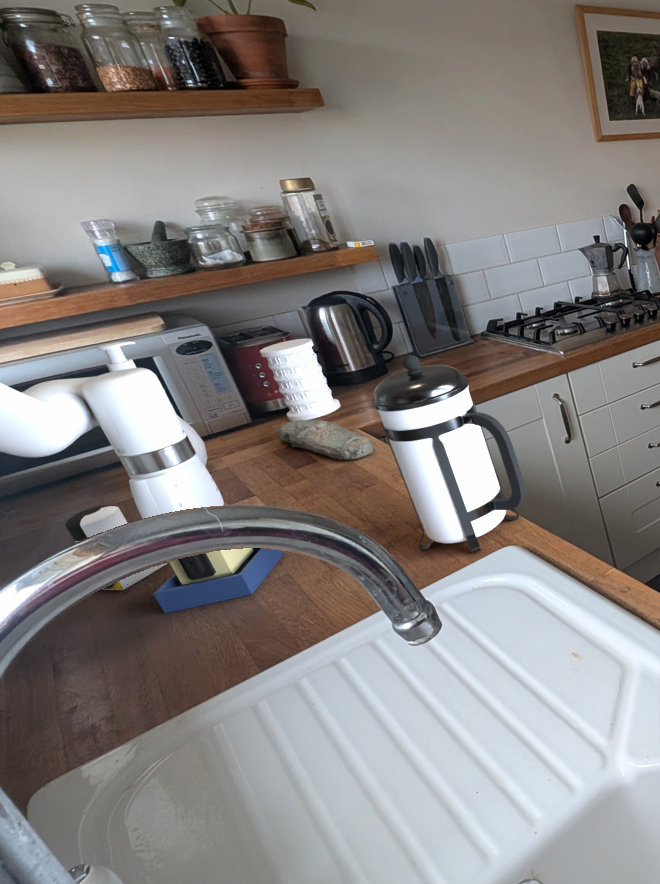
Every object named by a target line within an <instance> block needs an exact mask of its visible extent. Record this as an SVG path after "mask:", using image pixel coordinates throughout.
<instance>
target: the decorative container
mask: <svg viewBox="0 0 660 884" xmlns="http://www.w3.org/2000/svg"><path fill="white" fill-rule="evenodd" d="M314 345H315V344H314V342H313V339H312V338H307V337H306V338H296V339H291V340H286V341H281V342H277V343H274V344H271V345H268V346H265V347H262V348H261V349H260V350H259V353H260V356H261V357H262V358H266V360H267V362H268V364H267V366H268V368H269V370H271V371H272V373H273V380H274V381H275V382H276V383H277V384H278V391H279V393H280V394H281V395H282V396H283V398H284V399H283V400H284V401H283V402H284V404H285V405H286V407H287V408H288V409H289V411H288V412H287V413H286V417H287V420H289V422H292V421H297V420H314V419H316V418H321V417H323V416H327V415H329V414H331V413H333V412H335V411H337V410H338V409H340V408H341V406H342V405H341V403H340V400H339V399H337V398H333V396H332V394H333V393H332V389H331V388H330V387H329V386H328V381H327V377H326V376H325V375H324V374H323V367H322V365H321V364H320V363H319V362H318V355H317V353H315V352H314V350H313V348H312V347H314Z"/></svg>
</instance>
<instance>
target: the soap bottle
mask: <svg viewBox="0 0 660 884" xmlns="http://www.w3.org/2000/svg"><path fill="white" fill-rule="evenodd" d="M127 345H136V341H131V340H127V341H126V340H125V341H116V342H111V343H106V344H102V345H99V346H98V347H97V349H98V351H104V353H105V354H106V356H107V358H108V361H110V362H109V363H106V367H107V369H108V370H109V373H110V372H114V371H118V370H123V369H130V368H137V366H136V364H135V362H134V360H133V359H132V358H127V357H126V356H125V354H124V352H123V350H122V348H121V347H123V346H127ZM164 391H165V392H166V390H165V389H164ZM177 416H178V418H179V420H180V422H181V424H182V426H183V428H184V430H185V432H186V434H187V436H188V438H189V440H190V442H191V444H192V445H193V447H194V449H195V451H196V453H197V455H198V458H199V459H200V460H201V462H202V463H203V465H204V466H205V467H206V466H207V463H208V462H207V461H208V454H207V450H206V444H205V441H204V440H203V439H202V438H201V436H200V435H199V434H198V433H197V432H196V430H195V429H194V427H192V426H191V425H190V424H189V423H187V422H186V421H185V420H184V419H183V418H181V417H180V416H179V415H178V414H177Z"/></svg>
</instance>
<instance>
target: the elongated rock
mask: <svg viewBox="0 0 660 884" xmlns="http://www.w3.org/2000/svg"><path fill="white" fill-rule="evenodd" d="M274 432H275V436H277V438H278V439H280V440H282V441H283V442H285V443H287V444H290V446H291V448H301V449H303V450H309V451H311V452H313V453H315V454H321V455H324V456H327V457H329V458H333V459H334V460H356V459H360V458H363V457H366V456H368V455H371V454H372V453H373V452H374V445H373V442H372V441H371V440H370V438H369V437H368V436H364V435H361V434H359V433H358V432H354V431H353V430H352V431H351V430H349V429H347V428H345V427H342V426H340V425H338V423H336V422H335V421H331V422H330V421H327V420H322V419H309V420H297V421H289V422H285V423H283V424H282V425H279V426H278V427H277V428H275V431H274Z"/></svg>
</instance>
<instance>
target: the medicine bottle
mask: <svg viewBox="0 0 660 884" xmlns="http://www.w3.org/2000/svg"><path fill="white" fill-rule="evenodd" d="M127 523H128V521H127V519H126V518H125V516H124V514H123V512H122V511H121V509H120V507H119V506H117V505H114V504H103V505H97V506H93V507H91V508H90V507H89V508H87V509H84V510H82V511H79V512H78V513H75V514H74V515H72V516H71V517H70V518H69V519H68V520H66V522H65V524H64V526H65V528H66V529H67V531H68V533H69V534H70V535H71V537H72V538H73V540H74V542H75V543H76V542H79V541H81V540H83V539H86V538H88V537H91V536H93V535H96V534H98V533H101V532H105V531H107V530H110V529H113V528H115V527H118V526H121V525H124V524H127ZM166 565H168V563H165V564H161V565H159V566H155V567H151V568H149V569H146V570H144V571H141V572H139V573H136V574H133V575H131V576H129V577H126V578H125V579H122V580H120V581H118V582H116V583H114V584H112V585H110V586H107V587H106V588H104V589H102V590H103V591H125V590H126V589H128V588H130V587H133V585H135V584H137V583H139V582H140V581H142V580H143V579H145V578H147V577H149V576H150V575H152V574H153V573H155V572H156V571H159V570H160V569H161V568H163V567H165V566H166ZM127 584H128V585H127ZM120 587H122V588H120ZM102 590H101V591H102Z"/></svg>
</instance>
